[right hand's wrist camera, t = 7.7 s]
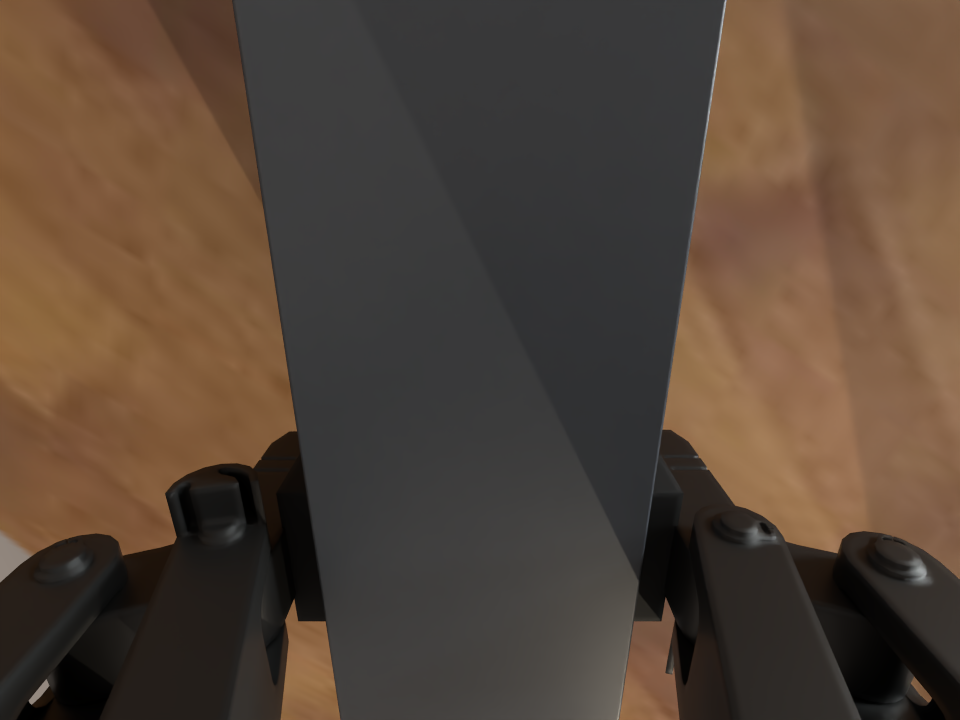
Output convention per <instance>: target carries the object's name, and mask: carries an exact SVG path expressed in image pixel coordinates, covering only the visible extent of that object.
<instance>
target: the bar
mask: <svg viewBox="0 0 960 720" xmlns="http://www.w3.org/2000/svg"><path fill="white" fill-rule="evenodd" d="M232 2H233V9H234V15H235V22H236V29H237V35H238V42H239V48H240V55H241V62H242V68H243V75H244V82H245V88H246V95H247V102H248V108H249V115H250V121H251V128H252V135H253V141H254V148H255V155H256V161H257V168H258V175H259V181H260V188H261V194H262V201H263V208H264V214H265V221H266V228H267V234H268V241H269V248H270V254H271V261H272V268H273V274H274V281H275V287H276V294H277V301H278V307H279V314H280V321H281V327H282V334H283V341H284V347H285V354H286V360H287V367H288V374H289V380H290V387H291V394H292V400H293V407H294V414H295V420H296V427H297V433H298V440H299V447H300V453H301V460H302V467H303V473H304V480H305V487H306V493H307V500H308V506H309V513H310V520H311V526H312V533H313V540H314V546H315V553H316V560H317V566H318V573H319V579H320V586H321V593H322V599H323V606H324V613H325V619H326V626H327V633H328V639H329V646H330V653H331V659H332V666H333V672H334V679H335V686H336V692H337V699H338V706H339V712H340V719H341V720H619V716H620V710H621V703H622V696H623V690H624V683H625V676H626V670H627V663H628V656H629V649H630V643H631V636H632V629H633V623H634V616H635V609H636V603H637V596H638V589H639V583H640V576H641V569H642V562H643V556H644V549H645V542H646V536H647V529H648V522H649V516H650V509H651V502H652V496H653V489H654V482H655V475H656V469H657V462H658V455H659V449H660V442H661V435H662V429H663V422H664V415H665V409H666V402H667V395H668V389H669V382H670V375H671V368H672V362H673V355H674V348H675V342H676V335H677V328H678V322H679V315H680V308H681V302H682V295H683V288H684V281H685V275H686V268H687V261H688V255H689V248H690V241H691V235H692V228H693V221H694V215H695V208H696V201H697V194H698V188H699V181H700V174H701V168H702V161H703V154H704V148H705V141H706V134H707V128H708V121H709V114H710V107H711V101H712V94H713V87H714V81H715V74H716V67H717V61H718V54H719V47H720V41H721V34H722V27H723V20H724V14H725V7H726V0H232Z"/></svg>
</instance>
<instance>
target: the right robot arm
mask: <svg viewBox="0 0 960 720" xmlns="http://www.w3.org/2000/svg"><path fill="white" fill-rule="evenodd" d="M165 495H166V499H167V502H168V506H169V510H170V513H171V517H172V521H173V525H174V528H175V532H176V536H177V538H176V541H175V543H174V544H172V545H168V546H165V547H161V548H156V549H152V550H147V551H142V552H138V553H133V554H128V555H124V556H123V555H122V552H121V549H120V546H119V543H118V541H116V540H115V539H114V538H113V537H111V536H110V535H103V534H89V535H81V536H76V537H72V538H69V539H65V540H62V541H59V542H57V543H55V544H53V545H51V546H49V547H47V548H45V549H43V550H41V551H39V552H37V553H36V554H34V555H33V556H32V557H30V558H29V559H27V560H26V561H25V562H23V563H22V564H20V565H19V566H18V567H17V568H16V569H15V570H14V571H13V572H12V573H10V574H9V575H8V576H7V577H6V578H5V579H4V580H3V581H2V582H0V720H280V719H281V710H282V700H283V691H284V681H285V671H286V662H287V652H288V643H289V641H288V634H287V628H286V623H285V619H286V617H287V614H288V612H289V610H290V607H291V605H292V602H293V600H294V599H295V605H296V611H297V616H298V621H326V619H325V613H324V606H323V599H322V593H321V586H320V579H319V573H318V566H317V560H316V553H315V546H314V540H313V533H312V526H311V520H310V513H309V506H308V500H307V493H306V487H305V480H304V473H303V467H302V460H301V453H300V447H299V440H298V433H297V432H288V433H287V434H285V435H284V436H282V437H281V438H279V439H278V440H276V441H275V442H273V443H272V444H271V445H270V446H269V448H268V449H267V450H266V452H265V453H264V455H263V456H262V459H261V460H259V462H258V463H257V464H256V466H255V467H254V468H251V467H250V466H246V465H242V464H237V463H236V464H219V465H214V466H210V467H205V468H202V469H200V470H197V471H195V472H192V473H190V474H187V475H186V476H184V477H183V478H181V479H180V480H178V481H177V482H175V483H174V484H173V485H172V486H171V487H170V488H169V489H168V491H167V492H166V493H165ZM665 597H666V598H667V601H668V603H669V605H670V608H671V610H672V613H673V615H674V617H675V623H674V628H673V633H672V639H671V644H670V649H669V655H668V660H667V666H666V673H668V674H672V673H673V668H674V670H675V680H676V689H677V699H678V708H679V718H680V720H960V579H958V578H957V577H956V576H955V575H954V574H953V573H952V572H951V571H950V570H948V569H947V568H946V567H945V566H944V565H943V564H942V563H941V562H939V561H938V560H936V559H935V558H934V557H932V556H931V555H929V554H928V553H927V552H925V551H924V550H922V549H920V548H918V547H916V546H914V545H912V544H910V543H908V542H906V541H905V540H902V539H899V538H897V537H892V536H890V535H886V534H882V533H874V532H866V531H862V532H855V533H850V534H848V535H847V536H846V537H845V538H843V539H842V542H841V545H840V548H839V551H838V554H837V553H833V552H828V551H823V550H819V549H814V548H809V547H804V546H800V545H796V544H792V543H789V542H785V540H784V537H783V536H782V534H781V533H780V532H779V530H778V529H777V527H776V526H775V525H774V524H772V523H771V522H770V521H768V520H767V519H766V518H764V517H763V516H761V515H759V514H757V513H755V512H753V511H750V510H748V509H746V508H742V507H738V506H735V505H734V504H733V502H732V501H731V499H730V498H729V497H728V495H727V494H726V493H725V491H724V490H723V489H722V487H721V486H720V484H719V483H718V482H717V480H716V479H715V478H714V476H713V475H712V473H711V472H710V471H709V470H707V467H706V465H705V464H704V463H703V461H702V460H701V458H698V454H697V453H696V452H695V450H694V449H693V448H692V446H691V445H690V443H689V442H688V441H686V440H685V439H683V438H682V437H680V436H679V435H677V434H676V433H674V432H673V431H671V430H662V435H661V442H660V449H659V455H658V462H657V469H656V475H655V482H654V489H653V496H652V502H651V509H650V516H649V522H648V529H647V536H646V542H645V549H644V556H643V562H642V569H641V576H640V583H639V589H638V596H637V603H636V609H635V616H634V621H661V620H662V614H663V609H664V603H665ZM914 676H915V678H916V679H917V680H918V681H919V683H920V684H921V685H922V686H923V687H924V689H925V690H926V691H927V692H928V693H929V695H930V696H931V697H932V700H931V701H930V703H928V702H927V701H926V700H925V699H924V698H923V697H922V696H920V695H919V693H918V692H917V691H916V690H915V688H914V687H913V686H912V685H911V682H912V680H913V678H914ZM46 679H47V681H48V683H49V685H50V686H49V687H48V688H47V690H46V691H45V692H44V693H43V695H42V696H41V697H40V698H39V699H38V700H37V701H36V702H34V703H33V704H32V705H31V704H30V703H29V699H30V698H31V697H32V696H33V694H34V693H35V692H36V691H37V690H38V688H39V687H40V686H41V685H42V683H43V682H44V681H45V680H46Z"/></svg>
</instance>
